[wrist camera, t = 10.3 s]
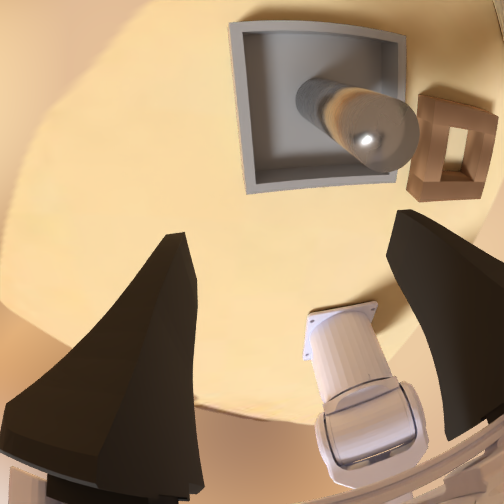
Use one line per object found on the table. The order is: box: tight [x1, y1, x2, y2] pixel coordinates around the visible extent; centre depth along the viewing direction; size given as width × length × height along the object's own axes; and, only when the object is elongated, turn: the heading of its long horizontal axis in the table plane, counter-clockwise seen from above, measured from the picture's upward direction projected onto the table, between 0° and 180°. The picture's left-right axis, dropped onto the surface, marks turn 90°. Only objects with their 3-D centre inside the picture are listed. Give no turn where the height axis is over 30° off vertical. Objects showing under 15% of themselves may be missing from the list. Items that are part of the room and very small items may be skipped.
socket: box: [406, 95, 498, 202], centre depth 17 cm, size 8×8×2 cm
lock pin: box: [295, 78, 420, 173], centre depth 12 cm, size 3×3×8 cm
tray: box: [228, 20, 406, 194], centre depth 15 cm, size 10×10×2 cm
